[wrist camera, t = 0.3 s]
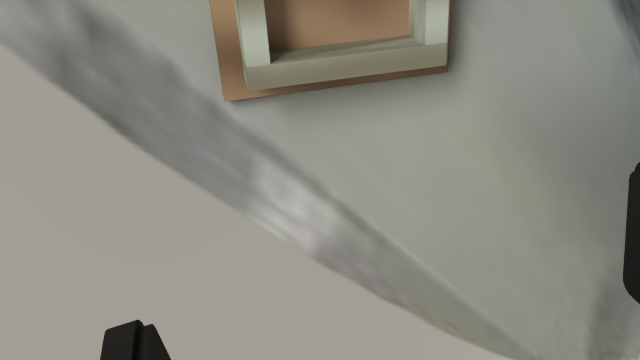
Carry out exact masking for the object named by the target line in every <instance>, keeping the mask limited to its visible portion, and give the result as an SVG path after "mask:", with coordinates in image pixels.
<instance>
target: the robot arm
mask: <svg viewBox="0 0 640 360" xmlns="http://www.w3.org/2000/svg"><path fill="white" fill-rule="evenodd" d="M623 282H624V286H625V288H626V290H627V291H628V293H629V294H630V295H631V296H632V298H634V299H635V300H636V301H637V302H638V303H639V304H640V162H639V163H638V164H637V166H636V167H635V171H634V172H632V173H631V175H630V178H629V191H628V206H627V222H626V237H625V253H624V268H623ZM100 360H171V359H170V356H169V354H168V353H167V350H166V348H165V346H164V344H163V342H162V340H161V338H160V336H159V334H158V332H157V330H156V328H155V326H154V325H153V324H150V325H147V326H144V325H143V323H142V322H141V321H140V320H136V321H132V322H129V323H126V324H123V325H119V326H116V327H113V328H110V329H107V330H106V331H105V335H104V340H103V346H102V352H101V358H100Z"/></svg>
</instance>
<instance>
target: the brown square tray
mask: <svg viewBox="0 0 640 360" xmlns="http://www.w3.org/2000/svg"><path fill="white" fill-rule="evenodd" d="M209 1H210V8H211V15H212V21H213V28H214V35H215V42H216V48H217V55H218V62H219V68H220V75H221V82H222V88H223V95H224V100H225V101H233V100H240V99H248V98H255V97H263V96H270V95H278V94H285V93H293V92H300V91H308V90H315V89H323V88H330V87H338V86H345V85H353V84H360V83H368V82H375V81H383V80H390V79H398V78H405V77H413V76H420V75H428V74H435V73H443V72H448V61H449V37H450V14H451V0H209Z"/></svg>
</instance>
